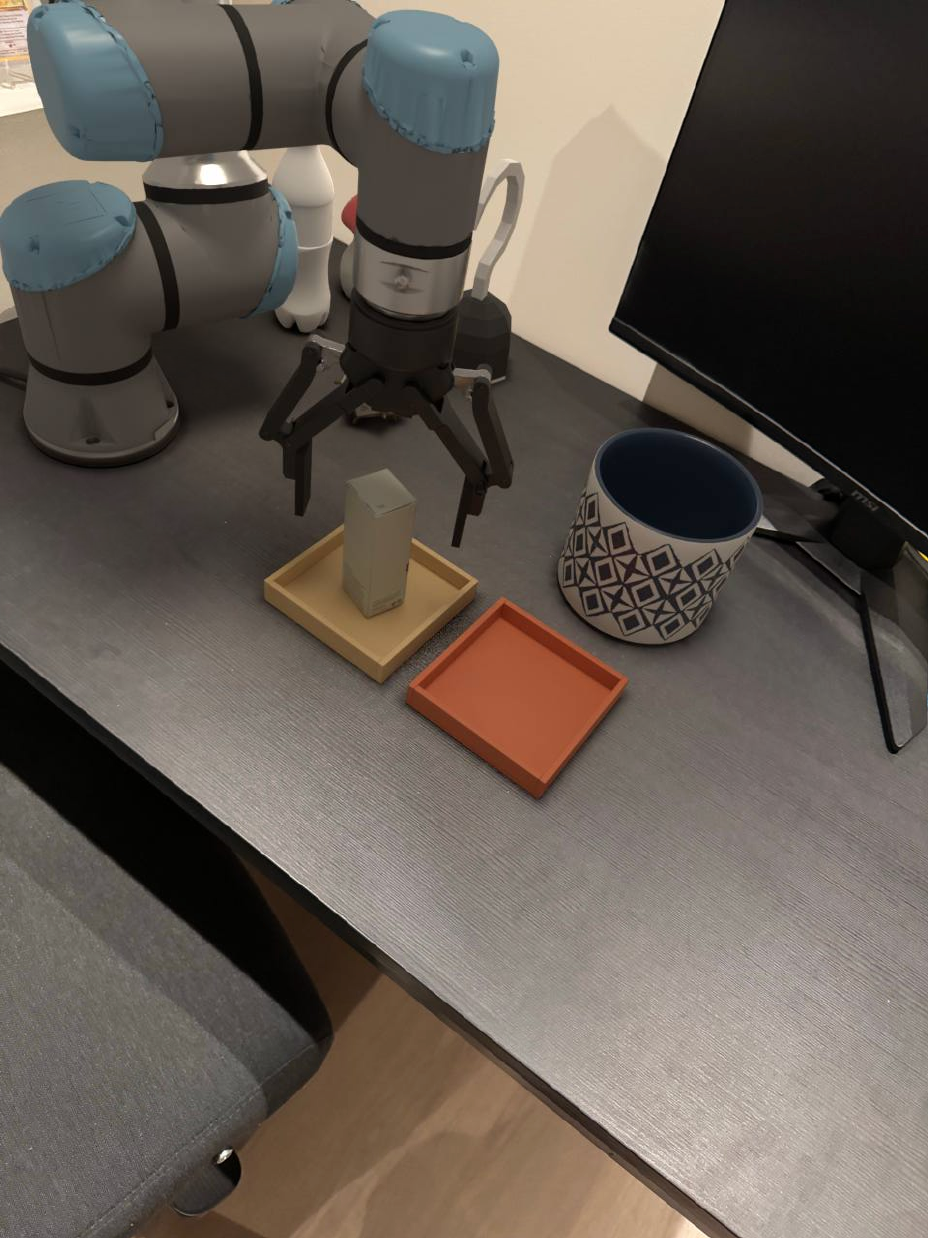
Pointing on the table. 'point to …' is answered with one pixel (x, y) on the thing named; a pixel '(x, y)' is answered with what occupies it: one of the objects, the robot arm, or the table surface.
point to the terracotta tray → (517, 694)
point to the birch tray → (337, 621)
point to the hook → (480, 310)
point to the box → (377, 541)
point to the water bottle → (307, 234)
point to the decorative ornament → (347, 258)
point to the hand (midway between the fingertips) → (380, 521)
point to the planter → (657, 534)
